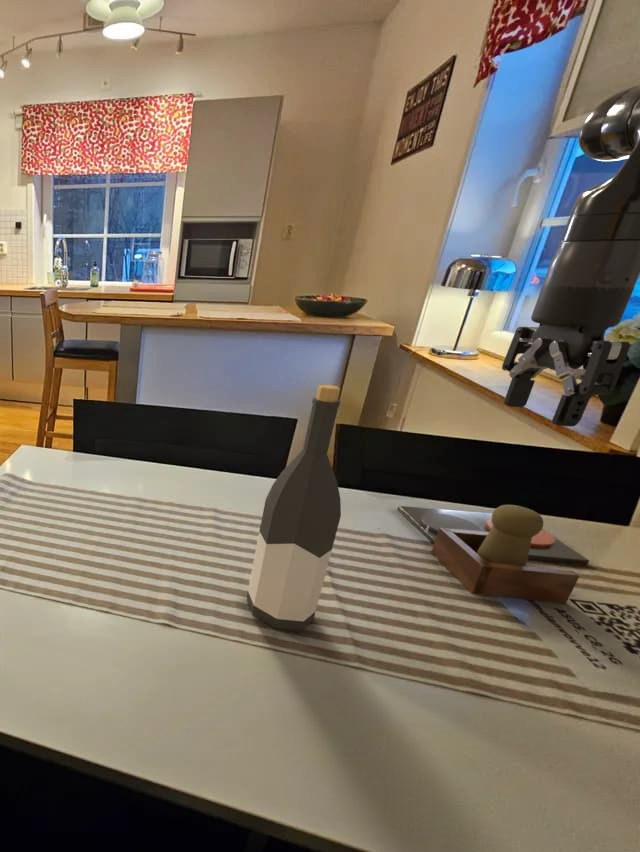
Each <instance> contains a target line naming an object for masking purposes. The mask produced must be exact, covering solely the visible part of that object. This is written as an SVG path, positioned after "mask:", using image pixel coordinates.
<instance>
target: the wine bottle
mask: <svg viewBox="0 0 640 852" xmlns="http://www.w3.org/2000/svg"><path fill="white" fill-rule="evenodd" d="M340 392H341V388H340V387H339V386H337V385H334V384H333V385H332V384H320V385H318V387H317V390H316V396H315V397H313V398H312V401H311V404H312V406H311V410H310V414H309V419H308V424H307V427H306V433H305V438H304V441H303V447H302V449H301V450H300V452H299V453H298V454H297V455H296V456H295V457H294V459H292V460H291V462H290V463H288V465H286V466H285V468H283V470H282V471H281V472H280V474H279V475H278V477H277V478H276V480H274V482H273V484H272V485H271V487H270V490H269V491H268V493H267V495H266V498H265V501H264V506H263V511H262V517H261V522H260V527H259V531H258V537H257V542H256V546H255V552H254V556H253V562H252V568H251V572H250V577H249V583H248V587H247V592H246V602H247V604H248V607H249V610H250V612H251V615H252V616H253V617H255V618H257V619H258V620H260V621H261V622H263V623H264V624H267V625H269V626H271V627H272V628H274V629H277V630H288V631H298V632H301V631H302V630H303V629H304V628H305V627H307V626H308V625H309V624H310V623H311V622H313V620H314V618H315V615H316V611H317V608H318V604H319V600H320V597H321V593H322V590H323V589H322V588H323V586H324V582H325V579H326V573H327V571H328V570H327V569H328V566H329V563H330V558H331V555H332V550H333V547H334V543H335V540H336V535H337V532H338V528H339V524H340V520H341V517H342V509H341V507H342V506H341V503H342V502H341V495H340V489H339V484H338V480H337V478H336V474H335V473H334V470H333V467H332V465H331V462H330V459H329V456H328V450H329V447H330V443H331V439H332V435H333V430H334V425H335V421H336V418H337V413H338V409H339V407H340V404H341V400H339V398H340V397H339V396H340Z"/></svg>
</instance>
